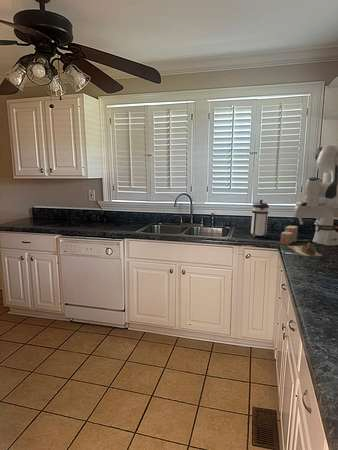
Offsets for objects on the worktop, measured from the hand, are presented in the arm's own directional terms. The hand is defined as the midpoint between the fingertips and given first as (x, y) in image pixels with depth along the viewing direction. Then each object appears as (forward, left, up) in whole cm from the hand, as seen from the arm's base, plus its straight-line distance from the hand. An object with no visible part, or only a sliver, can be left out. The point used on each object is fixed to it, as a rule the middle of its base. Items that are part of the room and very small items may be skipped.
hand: (308, 224), depth 201 cm
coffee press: (+17, -52, -20) cm, 58 cm away
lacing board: (0, -3, -20) cm, 20 cm away
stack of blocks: (0, -28, -20) cm, 35 cm away
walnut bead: (0, +3, -18) cm, 19 cm away
